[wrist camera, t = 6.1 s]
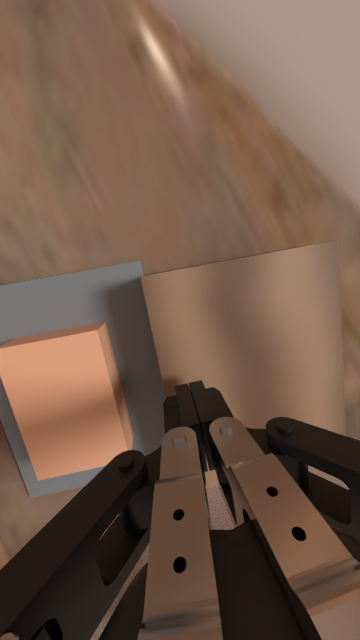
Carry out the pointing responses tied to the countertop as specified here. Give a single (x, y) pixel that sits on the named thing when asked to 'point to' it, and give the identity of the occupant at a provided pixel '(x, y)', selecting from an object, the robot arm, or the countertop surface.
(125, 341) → the mat
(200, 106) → the countertop surface
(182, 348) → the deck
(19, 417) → the orange rectangular block
